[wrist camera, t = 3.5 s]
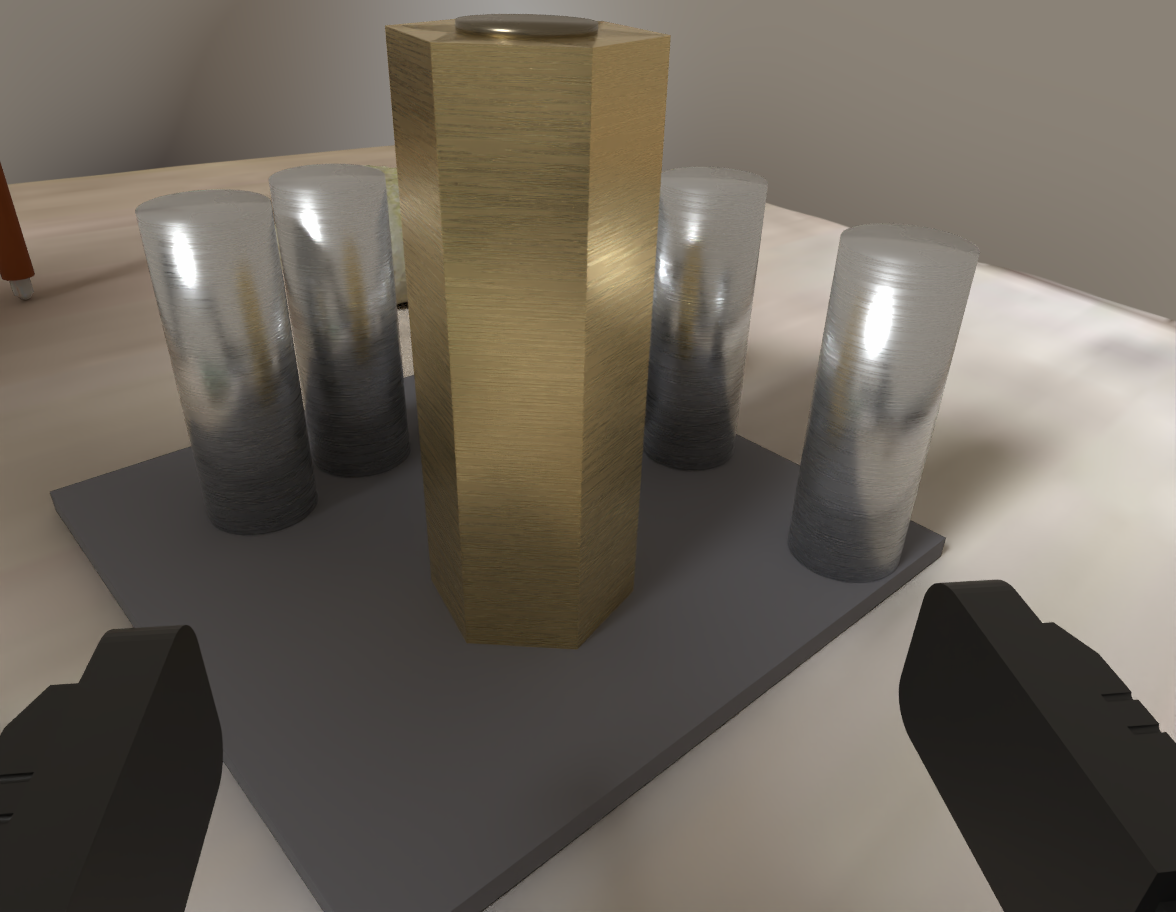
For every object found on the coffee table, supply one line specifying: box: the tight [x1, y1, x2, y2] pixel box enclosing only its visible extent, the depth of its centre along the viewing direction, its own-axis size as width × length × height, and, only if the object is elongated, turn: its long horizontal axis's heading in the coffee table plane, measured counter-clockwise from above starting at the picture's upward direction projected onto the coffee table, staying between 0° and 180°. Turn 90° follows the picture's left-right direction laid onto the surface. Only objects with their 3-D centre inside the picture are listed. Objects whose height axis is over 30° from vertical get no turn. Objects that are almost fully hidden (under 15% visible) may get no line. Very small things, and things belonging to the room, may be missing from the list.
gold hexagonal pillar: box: [385, 14, 670, 649], centre depth 18 cm, size 5×4×12 cm
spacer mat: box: [50, 375, 946, 912], centre depth 24 cm, size 17×17×1 cm
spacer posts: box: [135, 164, 980, 583], centre depth 22 cm, size 16×14×8 cm
